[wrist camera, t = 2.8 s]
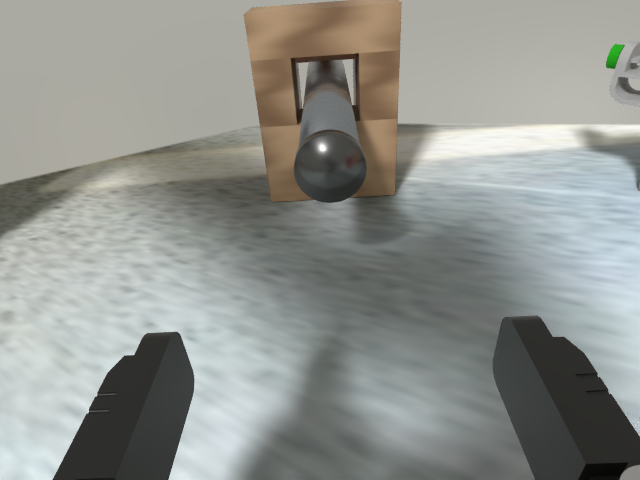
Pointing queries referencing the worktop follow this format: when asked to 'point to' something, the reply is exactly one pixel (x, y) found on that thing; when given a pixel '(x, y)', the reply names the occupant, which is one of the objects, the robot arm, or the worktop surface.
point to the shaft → (328, 137)
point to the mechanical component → (625, 73)
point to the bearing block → (320, 40)
